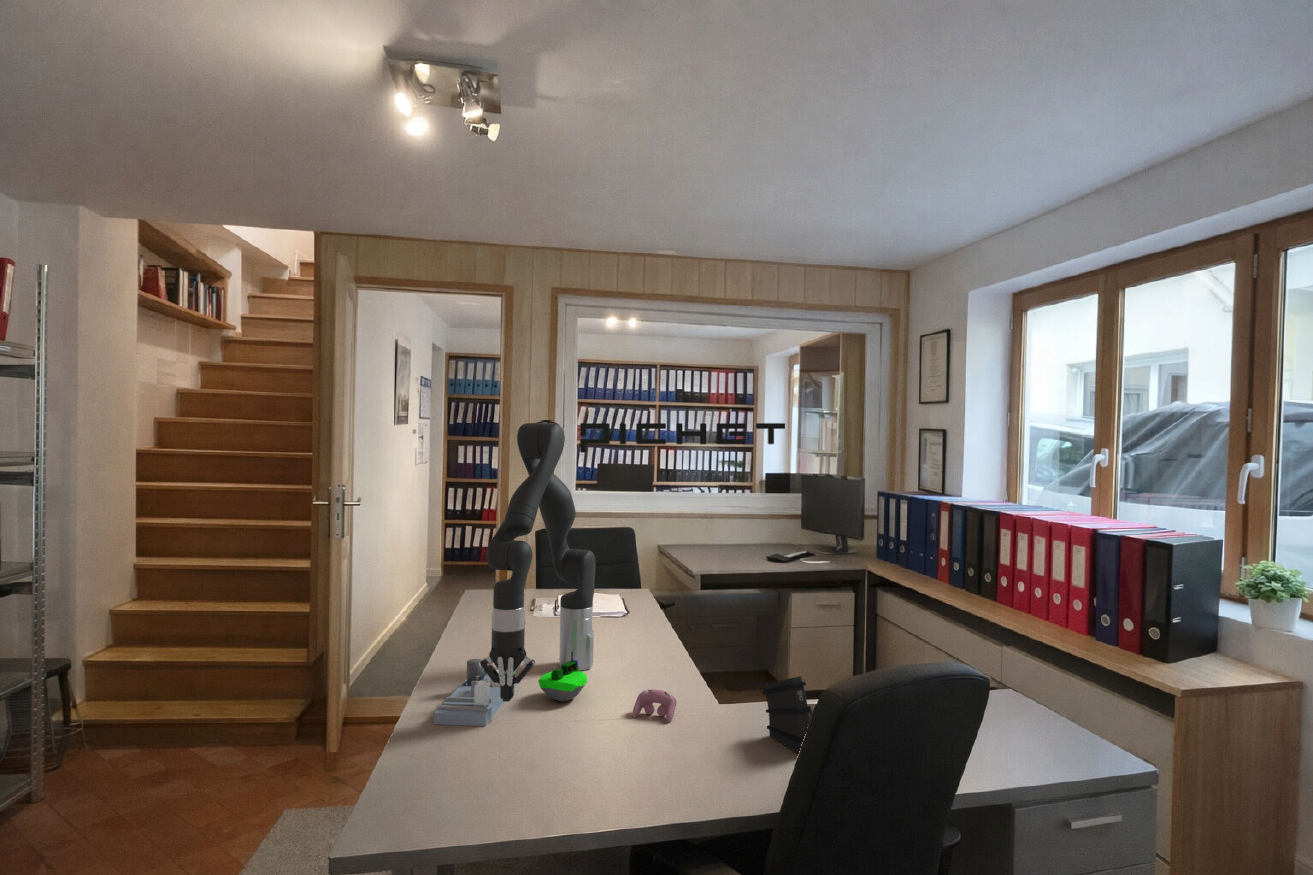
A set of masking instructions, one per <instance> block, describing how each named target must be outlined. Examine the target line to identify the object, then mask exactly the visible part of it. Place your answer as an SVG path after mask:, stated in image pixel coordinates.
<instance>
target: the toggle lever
mask: <svg viewBox="0 0 1313 875" xmlns="http://www.w3.org/2000/svg"><path fill="white" fill-rule="evenodd" d="M492 662H493V661H492ZM485 675H487V673H486V672H485V670H484V669H483V671H482V672H481V674H480V676H479V677H478V679H477V680H476V681H480V680H482V681H483V678H484V677H485Z"/></svg>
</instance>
